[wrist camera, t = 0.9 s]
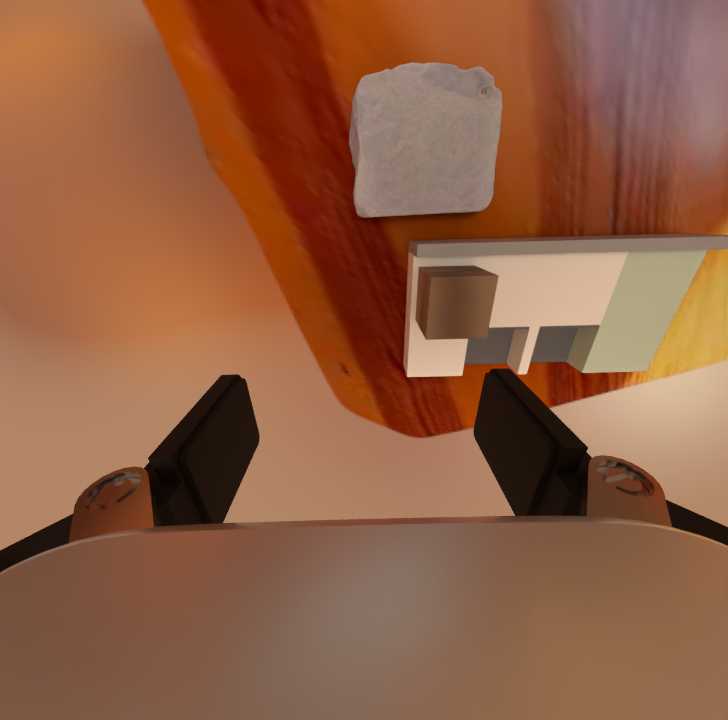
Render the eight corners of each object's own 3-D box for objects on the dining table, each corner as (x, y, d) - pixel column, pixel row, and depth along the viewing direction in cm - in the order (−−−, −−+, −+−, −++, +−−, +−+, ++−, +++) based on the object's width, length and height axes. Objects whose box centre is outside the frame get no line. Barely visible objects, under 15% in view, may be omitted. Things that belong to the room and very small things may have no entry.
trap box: (680, 233, 27) (736, 236, 23) (623, 358, 33) (659, 378, 29) (409, 240, 27) (417, 244, 23) (403, 364, 33) (409, 384, 29)
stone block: (345, 100, 24) (354, 228, 26) (343, 55, 19) (354, 216, 22) (484, 91, 24) (479, 219, 26) (515, 44, 19) (506, 205, 22)
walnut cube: (474, 265, 25) (498, 275, 20) (466, 318, 27) (486, 338, 23) (418, 266, 25) (431, 277, 21) (415, 319, 27) (425, 339, 23)
